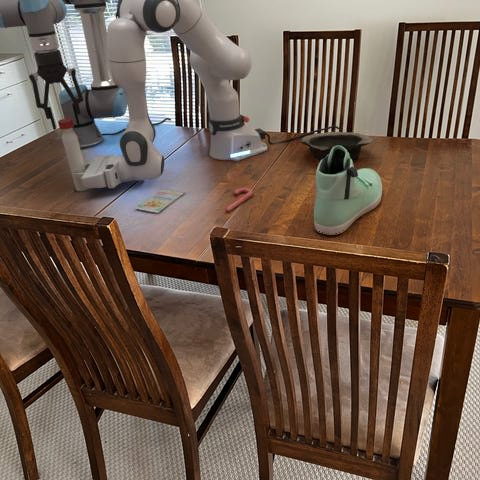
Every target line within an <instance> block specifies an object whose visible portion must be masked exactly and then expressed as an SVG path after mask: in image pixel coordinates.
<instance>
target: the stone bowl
mask: <svg viewBox="0 0 480 480" xmlns="http://www.w3.org/2000/svg"><path fill="white" fill-rule="evenodd" d="M372 142H374V139H373V138H371V137H370V136H368V135H366V134H363V133H359V132H349V131H328V132H316V133H312V134H309V135H305V136H302V137H301V141H300V144H303V145H304V146H307V147H309V152H310V155H311V156H312V158H313V159H315V160H317V161H318V164H319V163H320V161H321V160H322V159H324V158H325V157H326V156H327V155H329V154H330V152H331V149H332V148H333V147H334V146H342V147H344V148H345V149H346V150H347V152H348V153H349V156H350V159H352V161H353V162H357V161H359V159H360V157H361V152H362V147H364V146H367V145H369V144H372Z"/></svg>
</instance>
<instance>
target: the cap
mask: <svg viewBox="0 0 480 480" xmlns="http://www.w3.org/2000/svg"><path fill="white" fill-rule="evenodd" d="M57 124H58V127H59V129H60V130H62V129H70V128H73V127H74V124H73V120H72V119H70V118H67V119H64V118H63V119H59V120H58V121H57Z"/></svg>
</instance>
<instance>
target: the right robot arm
mask: <svg viewBox="0 0 480 480" xmlns="http://www.w3.org/2000/svg"><path fill="white" fill-rule="evenodd" d="M106 29H107V55H108V63H109V69H110V73H111V77H112V80H113V82H114V83H115V84H116V85H117V86H118V87H120V88H122V89H123V90H124V92H125V94H126V98H127V110H128V122H127V125H126V127H125V128H126V130H125V131H123V132H122V135H121V136H120V138H119V148H120V151H121V154H120V155H114V154H98V155H95V157H94V158H93V159H92V161H91V162H87V163H84V165H85V169H86V171H85V172H83V173H79V172H74V173H73V177H72V179H73V178H74V179H78V178H79V179H82V183H83V186H84V187H86V188H89V189H103V188H106V187H107V188H108V189H115V187H117V186H118V185H119V184H122V183H124V182H126V183H127V182H131V181H139V182H140V181H141V182H142V181H149V180H156V179H158V178H161V177H162V175H163V174H164V172H165V171H164V170H165V156H164V155H163V154H162V153H161V152H160V151H159V150H158V149H157V148H156V146H155V145H154V143H153V142H155V139H156V134H157V133H156V128H155V125H154V126H153V124H154V123H153V122H152V120H151V118H150V116H149V111H148V101H147V94H146V83H147V82H146V81H147V59H146V49H145V41H146V37H147V35H148V32H153V33H157V34H162V33H166V32H168V31H170V30H172V31H173V33H174V34H175V35H176V36H177V38H178V39H179V40H180V41H181V42H182V44H184V46H185V47H186V48H187V49H188V50H189V51H190V54H189V64H190V67H191V69H192V70H193V71H194V72H195V74H196V75H197V76H198V78H199V80H200V82H201V85H202V86H203V89H204V92H205V95H206V100H207V106H208V115H209V116H208V129H209V133H210V147H209V153H208V156H209V157H210V158H212V159H215V160H220V161H221V160H222V161H233V162H235V161H236V162H238V161H242V160H244V159H247V158H250V157H253V156H255V155H256V156H257V155H259V154H261V153H264V152H267V151H268V150H269V149H268V145H267V144H266V143H265V142H264V141H262V140H265V139H266V137H267V143H268V144H270V145H275V144H285V143H287V142H291V141H293V140H297V139H300V138H303V137H305V136H308V135H312V134H316V133H320V132H323V131H327V130H330V129H336V130H341V128H340V127H339V126H337V125H331V126H327V127H324V128H319V129H315V130H311V131H308V132H305V133H302V134H299V135H296V136H294V137H289V138H287V139H284V140H282V141H278V142H272V141H271V135H270V134H269V133H267V132H266V131H265V130H263V129H262V128H260V127H259V128H255V129H254V128H252V127H251V126H249V125H247V124H246V123H249V121H250V117H248V116H247V115H244V114H241V113H240V101H239V94H238V92H237V91H236V89H234V87H233V86H232V84H231V83H230V81H239V80H243V79H245V78H247V76H249V74H250V73H251V70H252V57H251V55H250V53H249V52H248V51H247V50H246V49H244V48H242V47H240V46H238V45H237V44H236V43H235V42H233V41H232V40H231V39H230V38H228V37H227V35H225V34H224V33H223V32H221V31H220V30H219V29H218V28H217V27H216V25H214V24H213V22H212V21H211V20H210V18H209V17H208V15H207V14H206V13H205V11H203V9H202V8H201V6H200V5H199V4H198V3H197V2H196V0H118V1H117V4H116V12H115V18H114V19H113V20H111V21H110V22H109V24H108V26H107V28H106Z"/></svg>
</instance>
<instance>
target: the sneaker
mask: <svg viewBox="0 0 480 480" xmlns="http://www.w3.org/2000/svg"><path fill="white" fill-rule="evenodd" d="M317 165H318V166H317V168H316V172H315V201H314V207H313V225H314V229H315V231H316V232H318V233H320V234H323V235H326V236H327V235H328V236H336V235H339V234H342V233H344V232H345V231H347V230H348V229H349V228H350V227H351V226H352V225H353V224H354V222H356V221H357V220H358V219H359V218H360V217H362V216H363V215H365V214H367V213H370V212H372V210H374V209H375V208H377V207H378V205H380V203H381V200H382V196H383V184H382V183H383V182H382V179H381V176H380V175H379V173H378V172H377V171H376V170H374V169H372V168H367V167H365V168H358V169H357V168H355V167H354V161H352V159H350V156H349V153H348V152H347V150H346V149H345V148H344V147H342V146H334V147H333V148H332V149H331V152H330V154H329V155H327V156H326V157H325V158H324V159H322V160H321V161H320V163H319V162H318V164H317ZM343 230H344V231H343ZM319 231H320V232H319ZM322 232H323V233H322ZM339 232H340V233H339ZM326 233H327V234H326ZM328 233H329V234H328ZM335 233H337V234H335Z"/></svg>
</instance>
